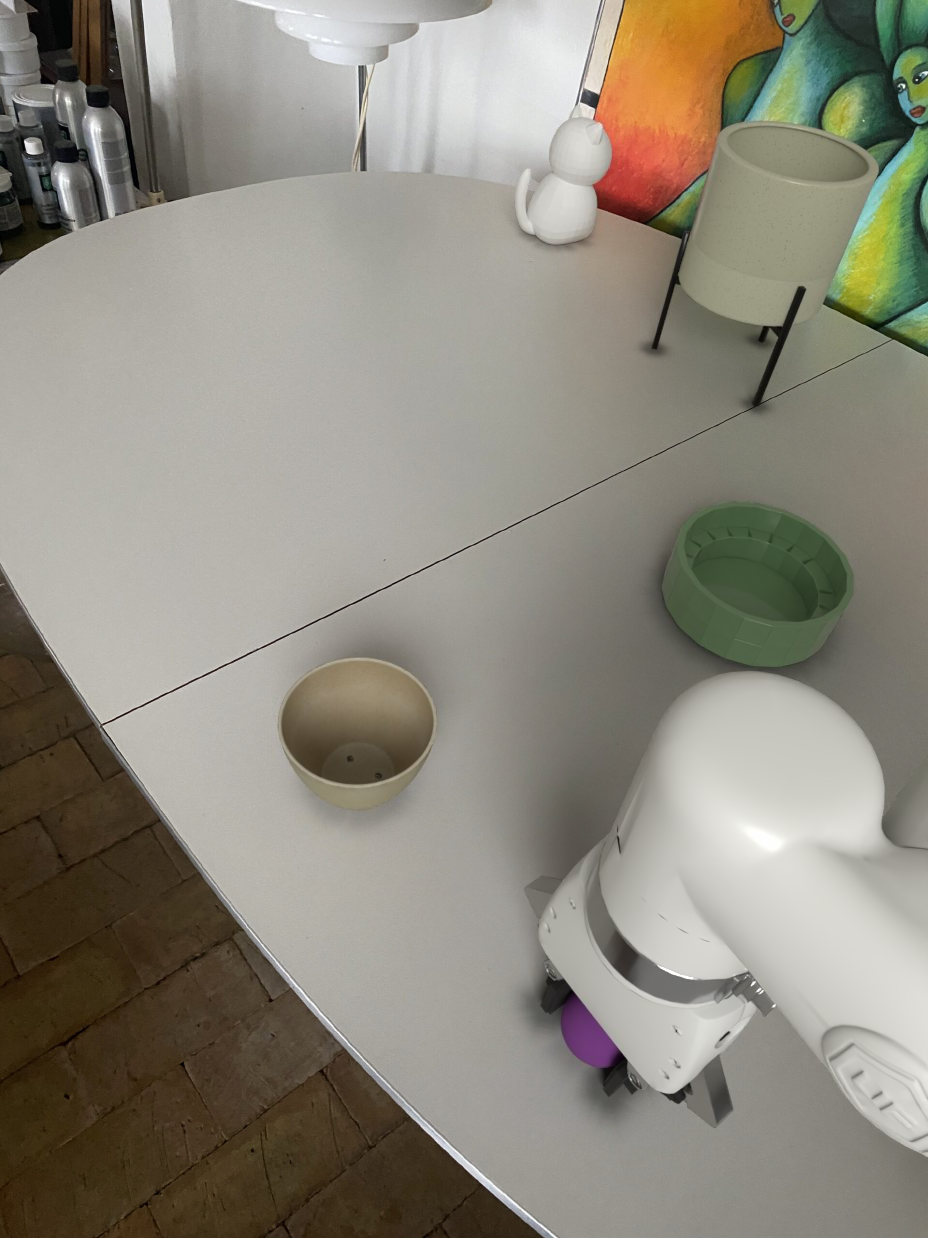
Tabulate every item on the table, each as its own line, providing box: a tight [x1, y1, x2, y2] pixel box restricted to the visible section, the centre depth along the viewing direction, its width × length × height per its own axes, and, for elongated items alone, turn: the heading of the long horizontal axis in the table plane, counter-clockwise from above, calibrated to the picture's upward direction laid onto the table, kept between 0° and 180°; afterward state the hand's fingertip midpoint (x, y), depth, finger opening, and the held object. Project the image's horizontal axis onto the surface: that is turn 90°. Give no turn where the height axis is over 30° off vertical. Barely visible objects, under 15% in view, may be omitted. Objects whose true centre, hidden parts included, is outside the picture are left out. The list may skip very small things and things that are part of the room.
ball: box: [560, 991, 626, 1069], centre depth 49 cm, size 4×4×4 cm
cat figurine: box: [514, 104, 613, 246], centre depth 112 cm, size 9×12×15 cm
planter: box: [651, 120, 880, 408], centre depth 91 cm, size 15×16×23 cm
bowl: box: [661, 501, 855, 668], centre depth 72 cm, size 14×14×6 cm
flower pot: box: [277, 656, 438, 811], centre depth 58 cm, size 10×10×7 cm
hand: (593, 1033), depth 50 cm, fingers open, 4 cm apart
